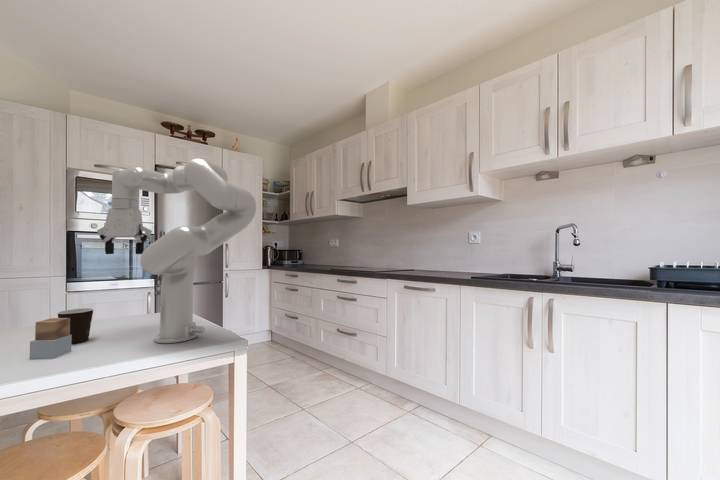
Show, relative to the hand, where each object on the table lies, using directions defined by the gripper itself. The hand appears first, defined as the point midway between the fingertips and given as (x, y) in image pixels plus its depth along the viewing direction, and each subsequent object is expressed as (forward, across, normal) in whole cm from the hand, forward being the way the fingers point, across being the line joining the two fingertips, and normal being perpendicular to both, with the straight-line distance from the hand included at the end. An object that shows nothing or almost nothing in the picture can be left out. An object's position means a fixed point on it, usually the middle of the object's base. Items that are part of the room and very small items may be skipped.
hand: (124, 254), depth 109 cm
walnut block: (+24, -7, -19) cm, 31 cm away
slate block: (+28, -7, -19) cm, 35 cm away
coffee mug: (+28, -11, -5) cm, 31 cm away
